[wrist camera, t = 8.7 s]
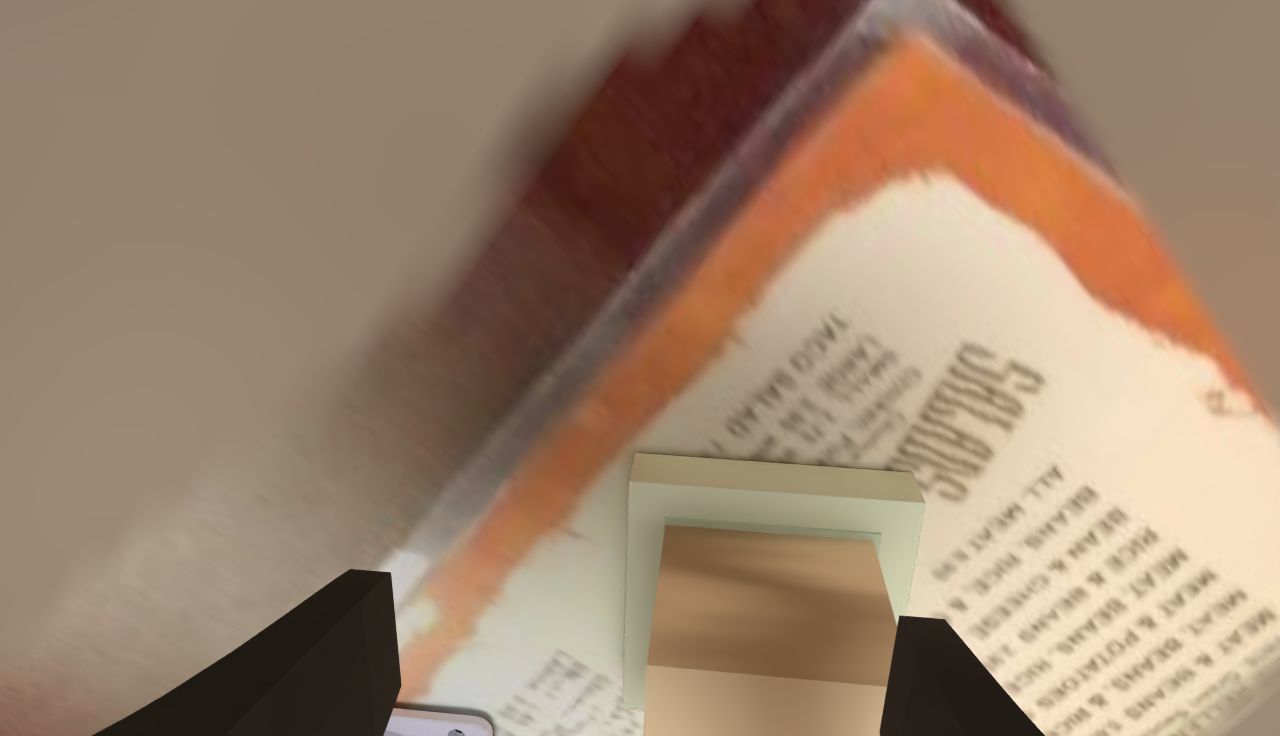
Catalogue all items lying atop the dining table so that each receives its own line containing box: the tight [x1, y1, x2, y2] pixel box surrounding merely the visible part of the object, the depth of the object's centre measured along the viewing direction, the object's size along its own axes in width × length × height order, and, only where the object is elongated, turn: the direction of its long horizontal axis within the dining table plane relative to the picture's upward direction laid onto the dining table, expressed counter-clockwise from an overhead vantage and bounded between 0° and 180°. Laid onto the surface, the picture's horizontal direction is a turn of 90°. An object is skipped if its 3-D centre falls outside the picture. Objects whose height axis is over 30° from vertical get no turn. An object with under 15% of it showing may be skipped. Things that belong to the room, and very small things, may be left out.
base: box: [623, 453, 925, 711], centre depth 23 cm, size 7×7×2 cm
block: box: [644, 525, 897, 736], centre depth 20 cm, size 5×5×5 cm
